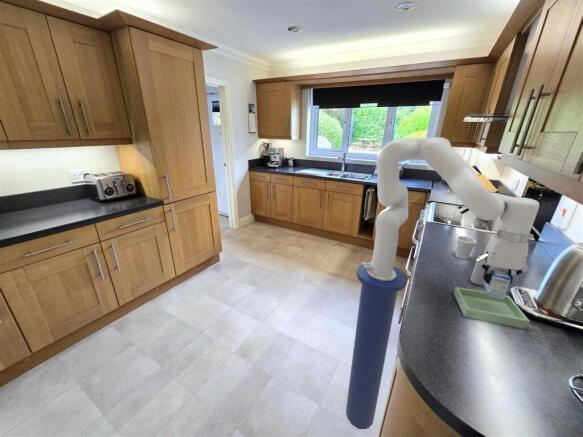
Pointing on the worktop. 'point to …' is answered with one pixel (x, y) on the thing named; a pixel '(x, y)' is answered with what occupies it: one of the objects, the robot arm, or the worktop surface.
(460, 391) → the worktop surface
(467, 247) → the dixie cup
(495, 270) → the medicine box
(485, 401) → the worktop surface
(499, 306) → the tray
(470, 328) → the worktop surface
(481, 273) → the beverage can
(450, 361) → the worktop surface
